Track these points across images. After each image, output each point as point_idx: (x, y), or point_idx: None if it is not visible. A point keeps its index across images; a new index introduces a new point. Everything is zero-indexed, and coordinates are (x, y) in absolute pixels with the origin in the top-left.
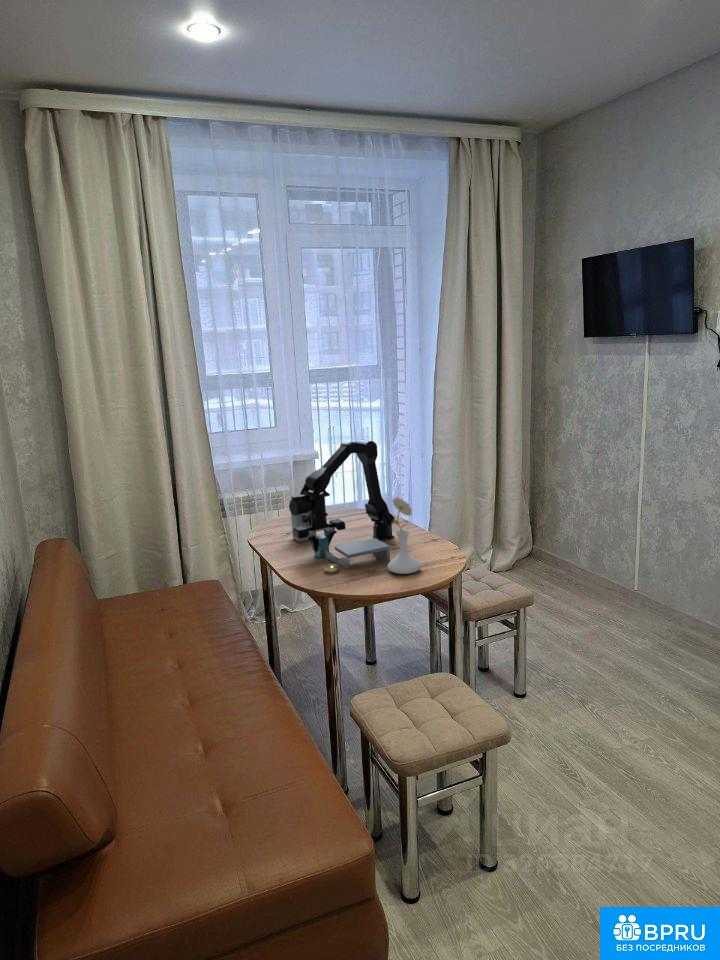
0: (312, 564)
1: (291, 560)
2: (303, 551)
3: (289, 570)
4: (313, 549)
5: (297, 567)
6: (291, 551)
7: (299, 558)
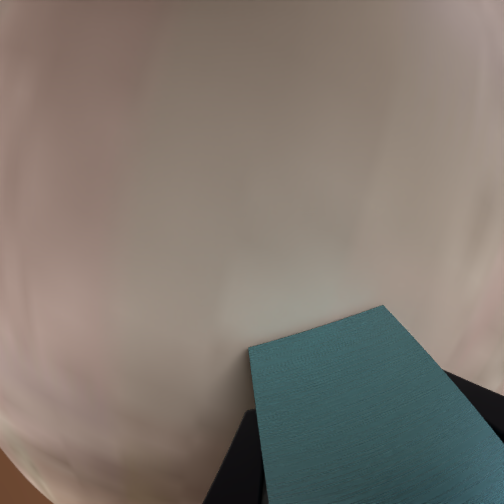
0: (185, 489)
1: (7, 355)
2: (135, 89)
3: (49, 481)
4: (236, 435)
5: (84, 479)
6: (13, 51)
7: (65, 346)
